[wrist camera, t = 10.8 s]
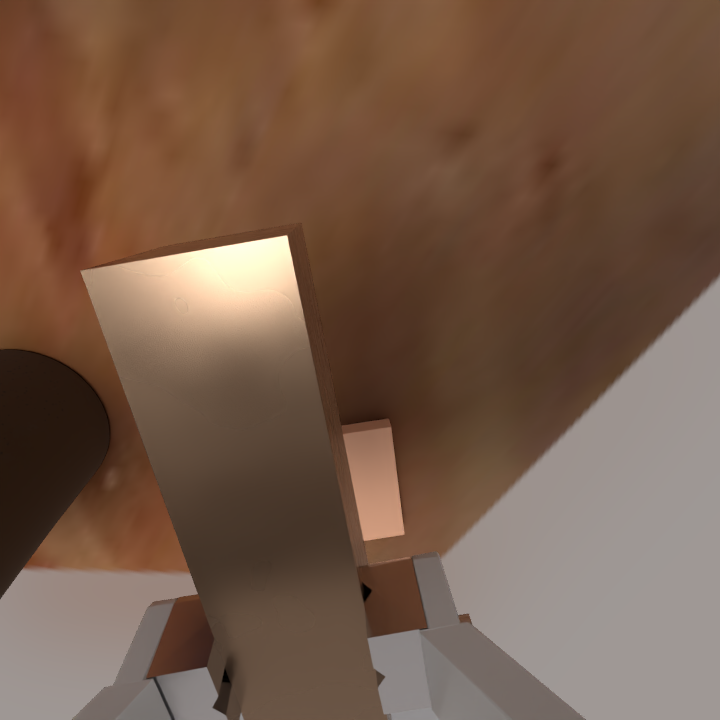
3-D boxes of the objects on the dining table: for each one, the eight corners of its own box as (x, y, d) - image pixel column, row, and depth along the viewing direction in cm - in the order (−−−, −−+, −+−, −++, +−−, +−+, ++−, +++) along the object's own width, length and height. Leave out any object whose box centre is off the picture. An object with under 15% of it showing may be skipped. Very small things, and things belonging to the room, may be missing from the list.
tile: (391, 426, 28) (404, 534, 30) (387, 415, 29) (400, 518, 32) (275, 444, 28) (299, 550, 30) (278, 431, 29) (300, 534, 32)
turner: (424, 201, 8) (471, 203, 6) (482, 741, 13) (523, 886, 11) (41, 267, 8) (-107, 302, 6) (243, 784, 13) (220, 941, 11)
